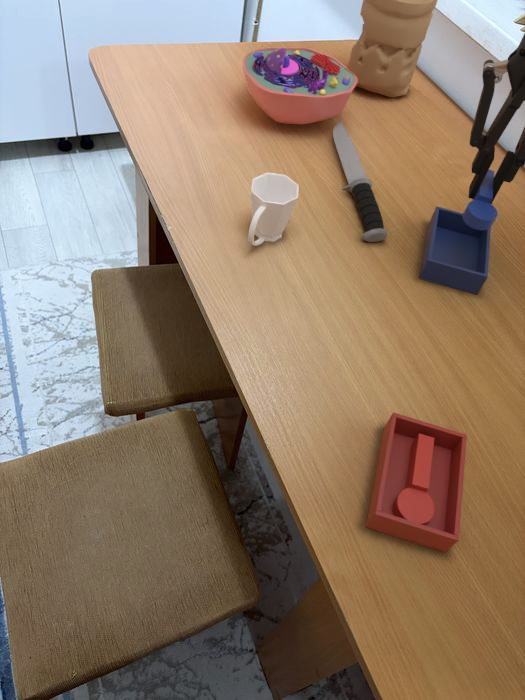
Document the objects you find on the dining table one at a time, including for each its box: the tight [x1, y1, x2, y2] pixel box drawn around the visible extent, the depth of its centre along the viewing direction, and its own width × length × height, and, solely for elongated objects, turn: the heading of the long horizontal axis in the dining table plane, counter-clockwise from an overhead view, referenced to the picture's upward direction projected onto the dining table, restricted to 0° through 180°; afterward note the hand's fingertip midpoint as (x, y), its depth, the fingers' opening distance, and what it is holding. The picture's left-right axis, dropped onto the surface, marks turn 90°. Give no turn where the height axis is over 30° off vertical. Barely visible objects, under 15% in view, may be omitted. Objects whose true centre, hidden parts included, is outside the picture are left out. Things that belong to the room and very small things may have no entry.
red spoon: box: [392, 433, 435, 525], centre depth 63 cm, size 10×4×3 cm, turn 164°
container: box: [347, 0, 438, 98], centre depth 108 cm, size 13×13×18 cm
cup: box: [247, 171, 300, 247], centre depth 83 cm, size 7×10×8 cm
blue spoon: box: [463, 169, 499, 230], centre depth 79 cm, size 10×4×3 cm, turn 164°
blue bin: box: [418, 206, 492, 295], centre depth 86 cm, size 12×8×4 cm
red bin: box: [365, 412, 468, 553], centre depth 63 cm, size 12×8×4 cm
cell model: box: [242, 46, 358, 125], centre depth 102 cm, size 17×20×11 cm
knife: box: [332, 118, 388, 243], centre depth 95 cm, size 29×3×5 cm
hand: (480, 194), depth 81 cm, fingers closed on blue spoon, 2 cm apart
